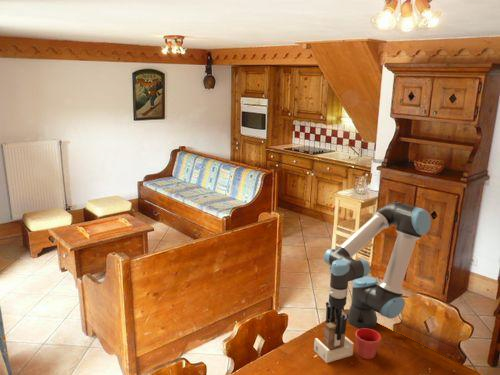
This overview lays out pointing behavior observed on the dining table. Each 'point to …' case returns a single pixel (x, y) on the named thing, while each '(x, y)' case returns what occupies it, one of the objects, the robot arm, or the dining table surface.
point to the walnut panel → (332, 336)
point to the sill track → (333, 354)
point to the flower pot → (367, 342)
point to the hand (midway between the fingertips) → (333, 342)
